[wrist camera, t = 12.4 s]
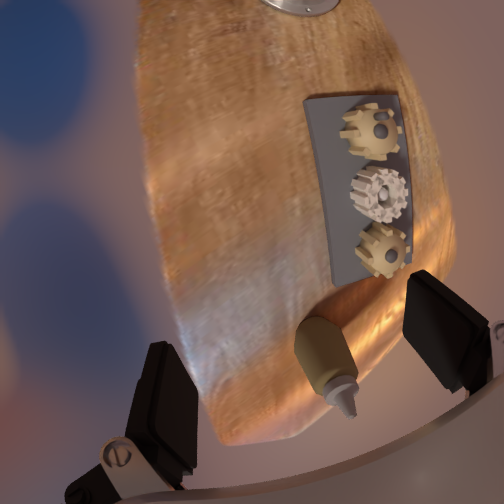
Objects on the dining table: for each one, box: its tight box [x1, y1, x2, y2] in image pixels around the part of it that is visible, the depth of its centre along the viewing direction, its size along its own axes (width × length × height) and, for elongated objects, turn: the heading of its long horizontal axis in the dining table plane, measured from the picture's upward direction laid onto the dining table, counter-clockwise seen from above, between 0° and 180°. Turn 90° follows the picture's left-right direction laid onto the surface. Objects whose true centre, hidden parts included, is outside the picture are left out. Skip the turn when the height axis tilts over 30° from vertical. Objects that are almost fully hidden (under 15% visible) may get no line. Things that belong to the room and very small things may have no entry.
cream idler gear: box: [350, 166, 408, 223], centre depth 32 cm, size 7×7×4 cm
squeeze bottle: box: [294, 316, 359, 419], centre depth 34 cm, size 8×8×18 cm
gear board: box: [303, 95, 412, 287], centre depth 31 cm, size 26×14×8 cm, turn 13°
